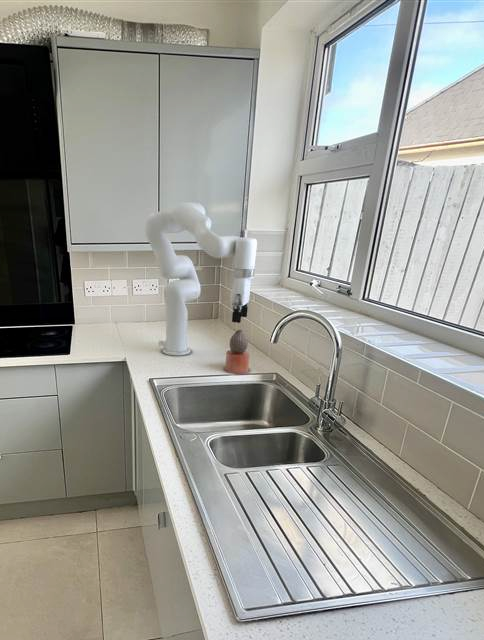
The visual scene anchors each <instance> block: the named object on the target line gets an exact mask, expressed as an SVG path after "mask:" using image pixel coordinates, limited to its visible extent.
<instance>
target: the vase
mask: <svg viewBox="0 0 484 640" xmlns="http://www.w3.org/2000/svg"><path fill="white" fill-rule="evenodd" d="M248 343H249V342H248V338H247V336H246V334H245V333H244V331H243V330H242V329H236V330H235V332H234V333H233V335H232V336H231V338H230V339H229V350H231V351H232V352H233V353H236V354H242V353H243V352H245V351H247V348H248V345H249V344H248Z"/></svg>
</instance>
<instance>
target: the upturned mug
mask: <svg viewBox="0 0 484 640" xmlns="http://www.w3.org/2000/svg"><path fill="white" fill-rule="evenodd" d="M249 365H250V352H249V351H247V350H245V352H243V353H242V354H236V353H233V352H232V351H231V349H229V350H227V351H226V353H225V368H224V369H225V371H226V372H227V373H230V374H237V375H238V374H239V375H240V374H246V373H247V372H248V371H249Z"/></svg>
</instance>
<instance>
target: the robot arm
mask: <svg viewBox="0 0 484 640" xmlns="http://www.w3.org/2000/svg"><path fill="white" fill-rule="evenodd" d="M211 227H212V220H211V218H210V217H208V216H207V215H206V209H205V208H204V206H203V205H202V204H201V203H199V202H194V201H182V202H178V203H176V204H175V205H174V206H173V208H172V211H161V210H160V211H155V212H152V213H150V215H149V216H148V217H147V218H146V222H145V236H146V238H147V241H148V244H149V245H150V247H151V249H152V252H153V255H154V259H155V261H156V264H157V267H158V270H159V273H160V275H161V277H162V278H164V279H166V280H172V279H176V280H172V281H170V282H168V283H167V284H166V285H165V286H164V288H163V296H164V297H163V298H164V303H165V329H166V330H165V340H158V343H157V344H158V346H160V347H163V348H162V353H163V354H166V355H169V356H186V355H188V354H190V353H191V348H190V347H189V346H188V325H189V324H188V323H189V314H188V313H189V312H188V308H187V306H186V303H187V302H191V301H195V300H197V299H198V298H199V297H200V295H201V291H202V290H201V283H200V281H199V277H198V275H197V272H196V268H195V265H194V263H193V261H192V259H191V258H190V257H189V256H187V255H184V254H179V255H177V254H176V252H175V250H174V246H173V243H172V242H171V240H170V239H169V238H168V237H167V236H166V235H165V234H178V233H182V232H185V231H187V233H189V234H191V235H192V236H193V237H195V241H196V243H197V246H198V247H199V248H200V249H201V250H202V251H203V252H204V253H206V254H207V255H208V256H211V257H212V258H214V259H226V258H234V261H233V271H232V272H233V273H232V278H233V284H232V290H231V299H230V305H231V306H232V316H231V322H232V323H236V324H237V323H238V324H240V323H241V322H242V318H247V317H248V311H249V310H248V309H249V301H250V297H251V288H252V287H251V285H252V279H254V278H255V268H256V258H257V248H258V240H257V239H256V238H254V237H241V236H237V235H221V236H219V235H217V234H216V233H214V232H213V231H211Z"/></svg>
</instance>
